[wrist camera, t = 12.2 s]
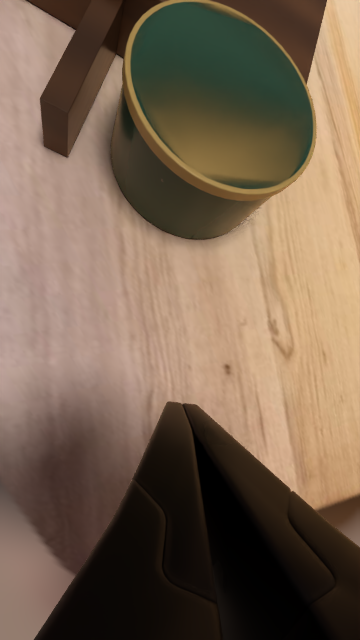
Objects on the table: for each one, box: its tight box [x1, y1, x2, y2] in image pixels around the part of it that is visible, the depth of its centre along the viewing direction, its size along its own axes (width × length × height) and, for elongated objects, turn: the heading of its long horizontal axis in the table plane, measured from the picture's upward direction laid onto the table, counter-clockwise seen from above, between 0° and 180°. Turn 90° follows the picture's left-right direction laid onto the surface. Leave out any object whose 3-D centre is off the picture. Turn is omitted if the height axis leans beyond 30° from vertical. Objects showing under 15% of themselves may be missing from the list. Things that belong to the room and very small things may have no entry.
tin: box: [111, 0, 316, 239], centre depth 22 cm, size 12×12×7 cm
